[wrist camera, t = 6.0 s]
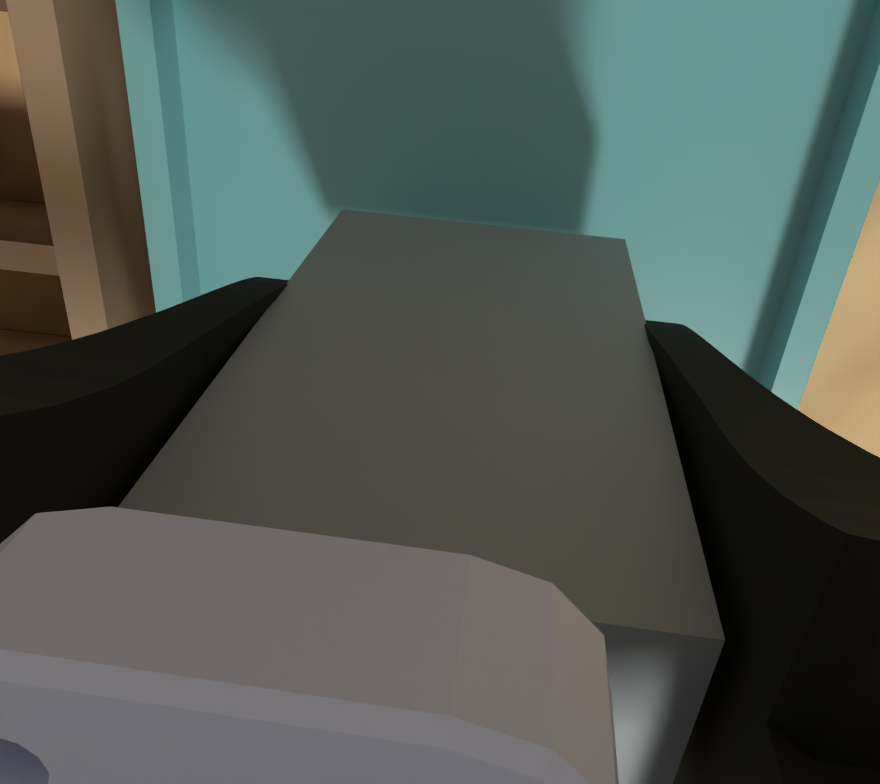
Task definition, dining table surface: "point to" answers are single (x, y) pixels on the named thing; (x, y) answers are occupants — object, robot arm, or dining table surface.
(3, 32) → the dining table surface
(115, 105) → the rack
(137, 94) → the tray
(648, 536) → the slate gray block
